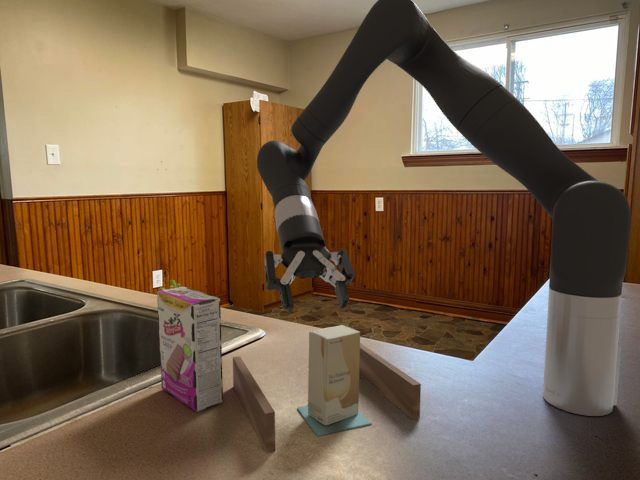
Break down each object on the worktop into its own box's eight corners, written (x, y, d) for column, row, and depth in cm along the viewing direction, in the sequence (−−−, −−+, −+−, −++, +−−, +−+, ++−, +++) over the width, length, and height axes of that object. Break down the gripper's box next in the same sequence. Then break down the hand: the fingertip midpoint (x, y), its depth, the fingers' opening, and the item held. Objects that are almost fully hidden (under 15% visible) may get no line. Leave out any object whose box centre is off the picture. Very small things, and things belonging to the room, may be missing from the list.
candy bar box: (159, 390, 72) (155, 290, 70) (187, 381, 75) (184, 285, 73) (195, 415, 64) (191, 302, 62) (224, 403, 67) (222, 296, 66)
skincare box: (325, 427, 60) (325, 339, 59) (306, 414, 63) (306, 331, 62) (360, 413, 64) (361, 330, 62) (341, 402, 67) (342, 323, 66)
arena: (355, 366, 81) (356, 340, 81) (419, 417, 63) (420, 383, 63) (233, 386, 73) (232, 357, 73) (265, 452, 55) (265, 413, 54)
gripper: (260, 213, 73) (275, 298, 64) (342, 212, 77) (367, 291, 68) (255, 242, 79) (268, 323, 69) (332, 239, 83) (354, 316, 73)
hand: (317, 307), depth 69 cm, fingers open, 8 cm apart
